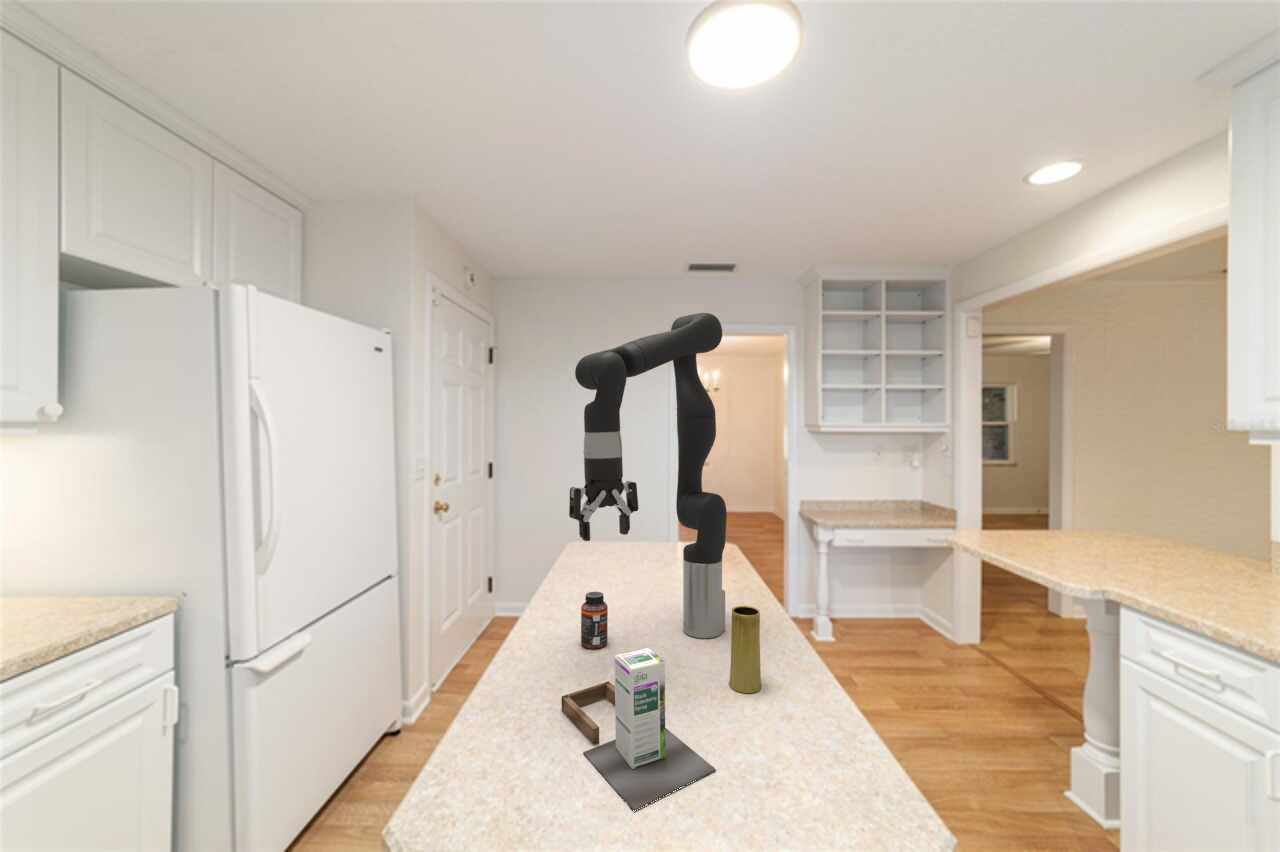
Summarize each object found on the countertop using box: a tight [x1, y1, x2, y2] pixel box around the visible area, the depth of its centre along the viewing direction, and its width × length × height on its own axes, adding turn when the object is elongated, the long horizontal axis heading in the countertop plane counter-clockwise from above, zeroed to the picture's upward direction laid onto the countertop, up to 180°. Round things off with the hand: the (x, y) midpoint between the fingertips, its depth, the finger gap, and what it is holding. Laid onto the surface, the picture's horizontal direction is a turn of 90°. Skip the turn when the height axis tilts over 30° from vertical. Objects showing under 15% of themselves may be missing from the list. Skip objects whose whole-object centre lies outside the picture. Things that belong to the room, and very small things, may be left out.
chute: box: [561, 681, 717, 811], centre depth 81 cm, size 26×14×2 cm, turn 34°
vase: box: [728, 605, 763, 694], centre depth 98 cm, size 6×6×14 cm
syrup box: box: [614, 647, 666, 769], centre depth 78 cm, size 6×6×14 cm
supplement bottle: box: [580, 591, 609, 650], centre depth 117 cm, size 6×6×11 cm
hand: (605, 537), depth 102 cm, fingers open, 8 cm apart
